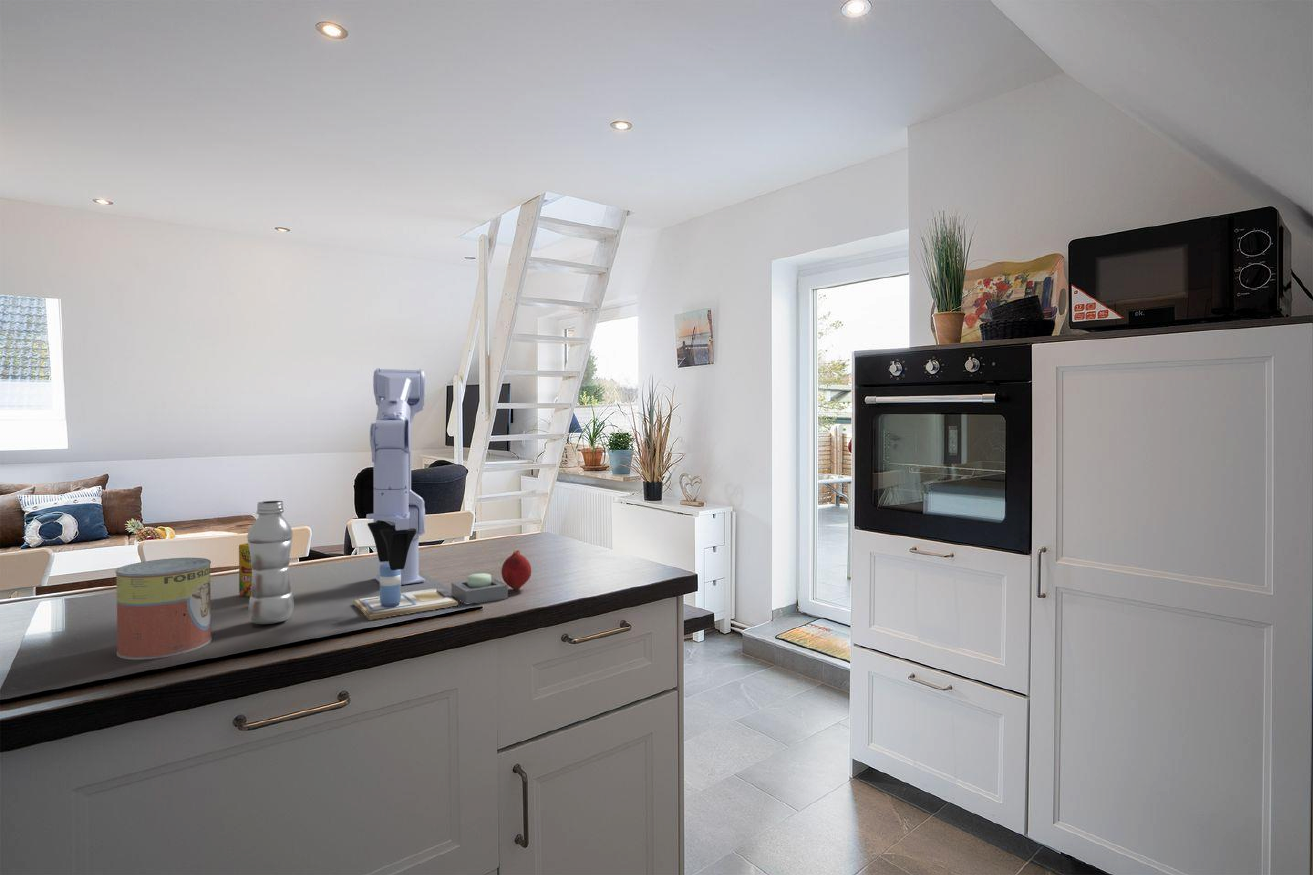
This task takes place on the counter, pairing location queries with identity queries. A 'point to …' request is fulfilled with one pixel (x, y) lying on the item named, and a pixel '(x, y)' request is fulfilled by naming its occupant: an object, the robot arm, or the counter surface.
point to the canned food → (163, 608)
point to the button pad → (479, 592)
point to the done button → (478, 580)
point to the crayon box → (245, 570)
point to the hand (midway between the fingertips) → (391, 565)
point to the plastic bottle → (270, 565)
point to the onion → (516, 570)
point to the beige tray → (406, 603)
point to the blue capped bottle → (390, 586)
